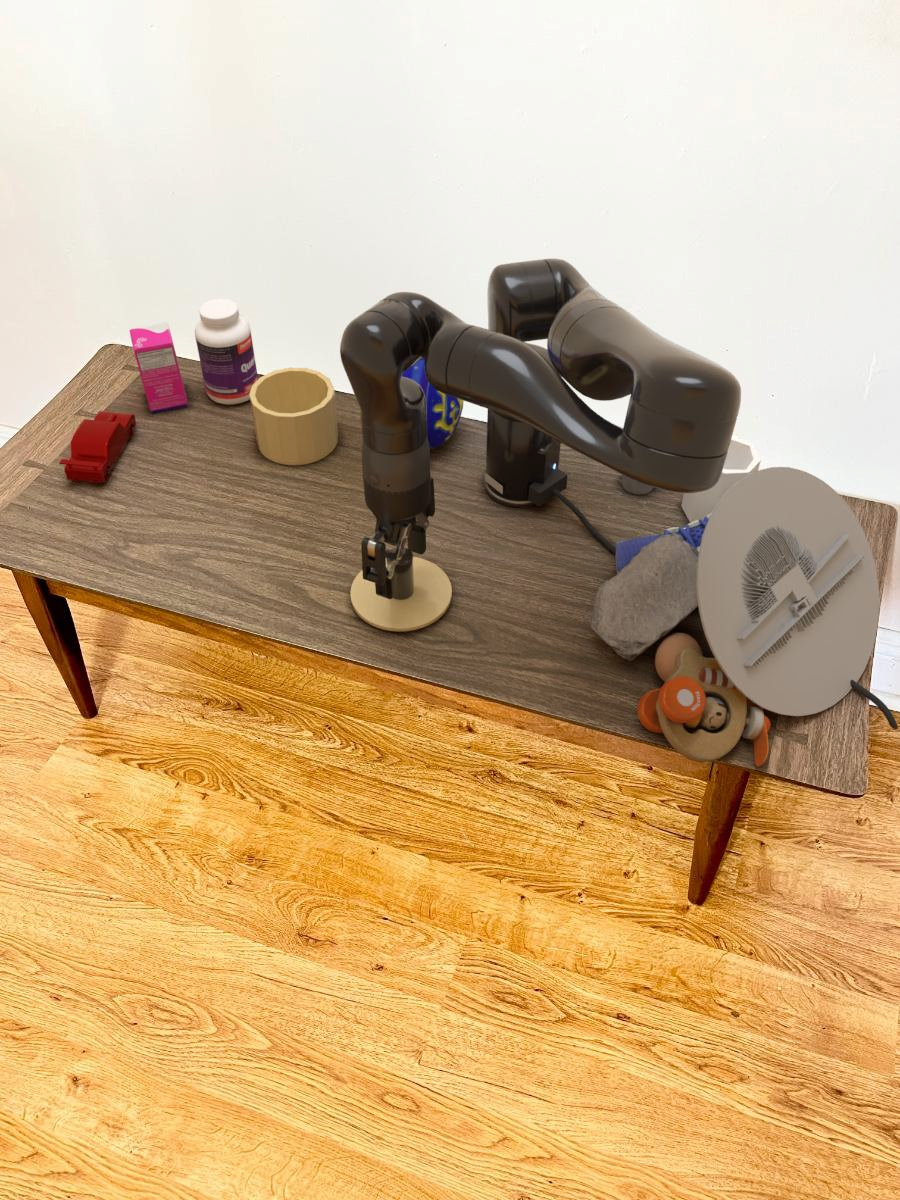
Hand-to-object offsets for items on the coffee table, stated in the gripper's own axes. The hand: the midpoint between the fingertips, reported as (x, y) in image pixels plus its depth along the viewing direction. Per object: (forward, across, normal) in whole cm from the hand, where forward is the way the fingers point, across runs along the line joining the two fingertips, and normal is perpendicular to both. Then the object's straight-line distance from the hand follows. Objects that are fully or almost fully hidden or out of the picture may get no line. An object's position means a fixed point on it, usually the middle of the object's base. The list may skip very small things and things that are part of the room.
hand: (401, 572), depth 130 cm
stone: (-2, +9, -24) cm, 26 cm away
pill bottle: (+4, +28, +43) cm, 52 cm away
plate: (-5, +11, -44) cm, 45 cm away
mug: (+5, +34, -30) cm, 46 cm away
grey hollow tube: (+5, +33, -20) cm, 39 cm away
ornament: (+4, +30, +11) cm, 33 cm away
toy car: (+4, +7, +51) cm, 52 cm away
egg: (+2, -1, -35) cm, 35 cm away
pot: (+4, +22, +28) cm, 36 cm away
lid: (+4, 0, 0) cm, 4 cm away
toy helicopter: (-2, 0, -34) cm, 34 cm away
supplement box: (+4, +22, +51) cm, 56 cm away
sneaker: (+5, +20, -35) cm, 40 cm away
